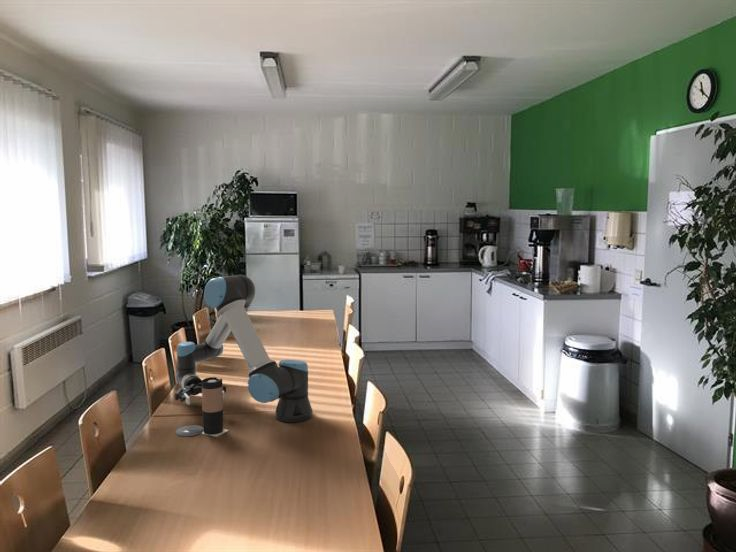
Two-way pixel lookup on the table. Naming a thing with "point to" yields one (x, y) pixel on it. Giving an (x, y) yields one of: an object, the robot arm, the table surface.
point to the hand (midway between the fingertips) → (206, 398)
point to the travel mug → (212, 405)
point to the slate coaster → (189, 430)
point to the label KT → (218, 433)
